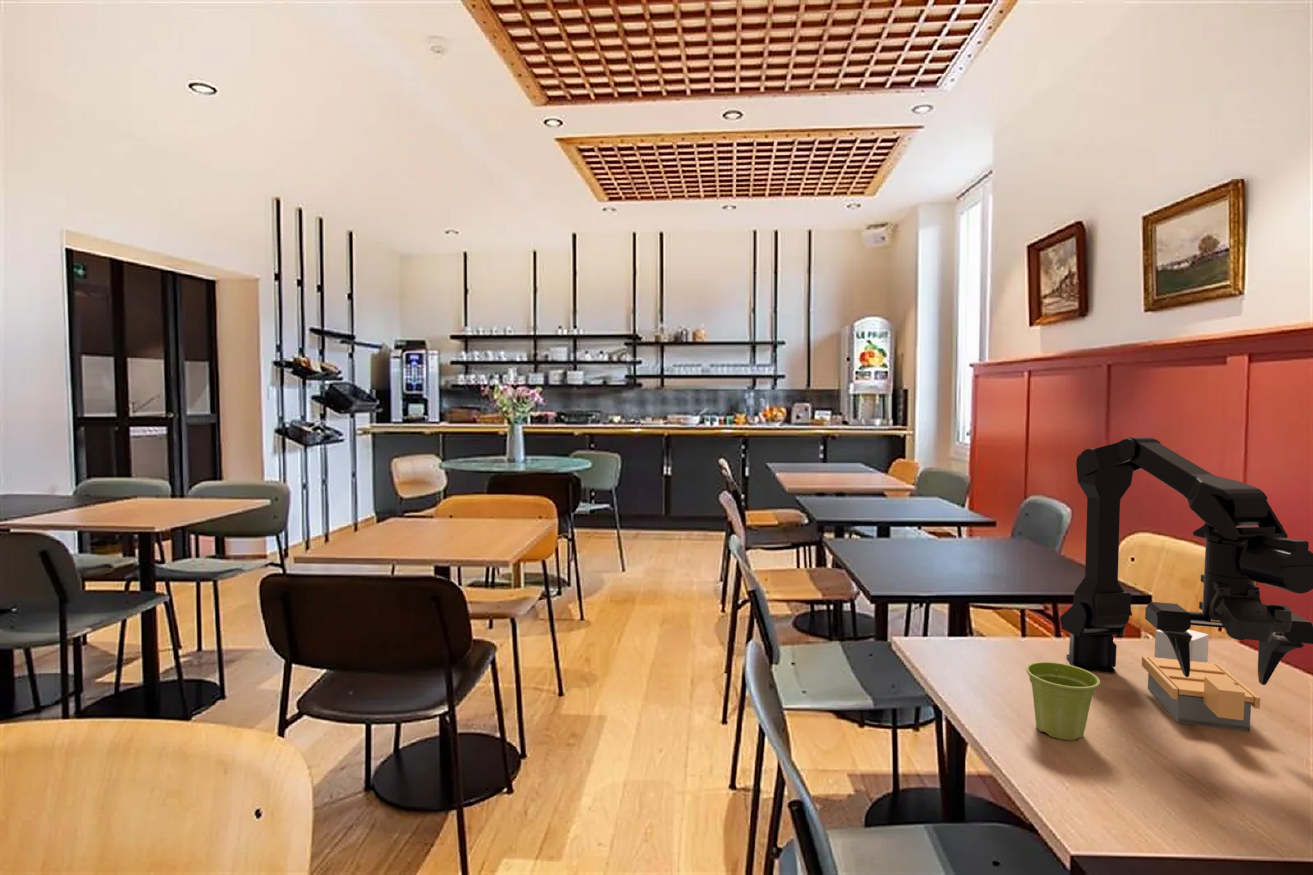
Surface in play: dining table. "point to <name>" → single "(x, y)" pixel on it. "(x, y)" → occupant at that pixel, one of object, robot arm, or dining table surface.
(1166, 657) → the white cube
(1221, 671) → the lid
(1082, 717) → the plant pot
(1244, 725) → the tub
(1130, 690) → the dining table surface
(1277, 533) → the robot arm
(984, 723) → the dining table surface
